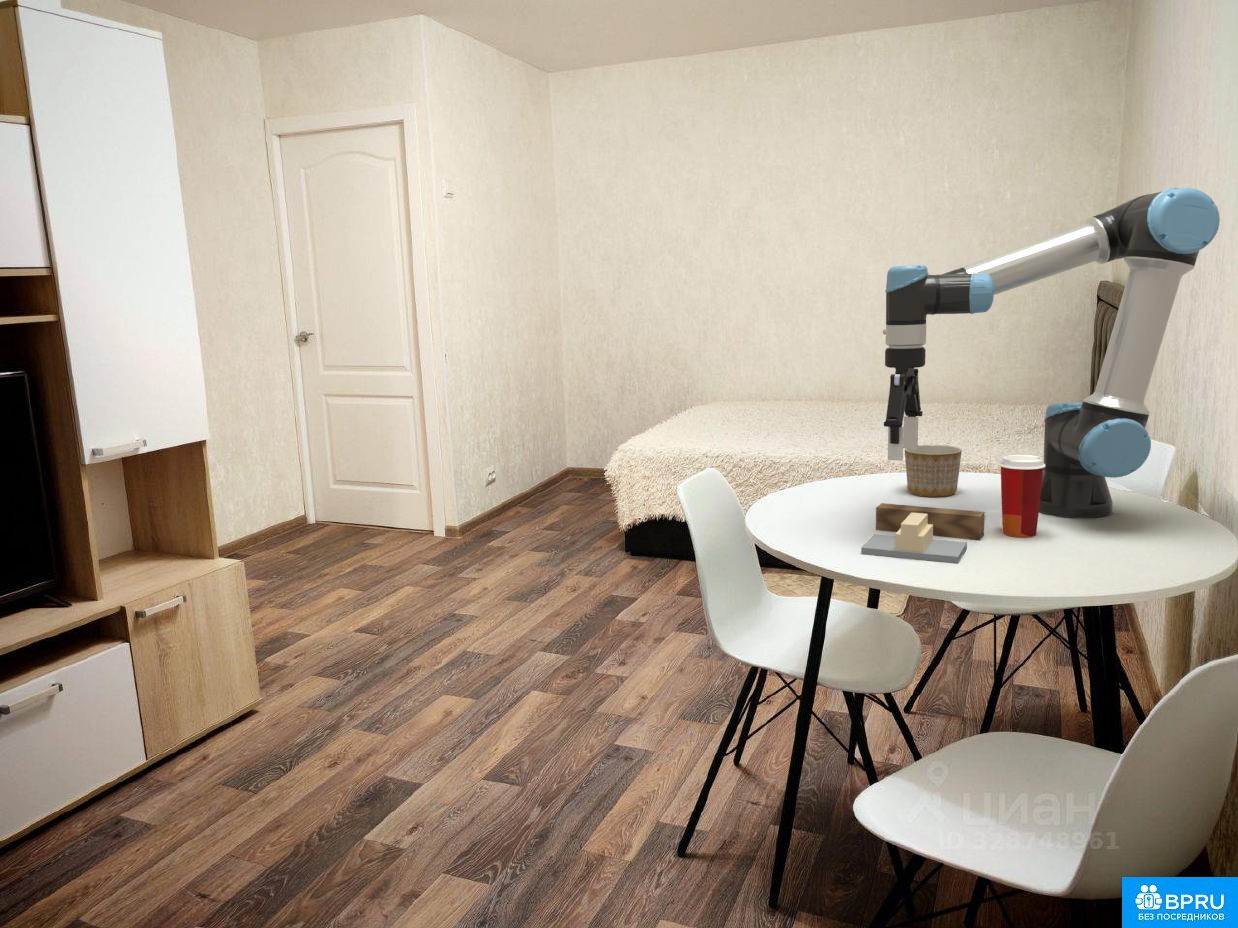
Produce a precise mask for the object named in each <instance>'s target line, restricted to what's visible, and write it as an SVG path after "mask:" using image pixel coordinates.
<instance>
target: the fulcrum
mask: <svg viewBox="0 0 1238 928" xmlns="http://www.w3.org/2000/svg"><path fill="white" fill-rule="evenodd" d="M967 549H968V542H967V541H955V540H946V539H944V540H943V539H936V538H934V536H933V524H928V514H924V513H910V515H909V516H908V517H907V518H906V519H905V520H904V521H903V522H902V523H901V528H900V529H899V530H898V531H897V532H895V533H894V535H892V534H891V535H888V534H879V533H878V534H877V533H874V534H873V535H872V536H871V537H870V538H869V539H868V540H867V541H866V542H865V543H864V544H863V545H862V546H861V549H860V550H861V551H860V554H862V555H870V556H871V555H872V556H880V557H882V556H883V557H891V558H899V559H901V558H902V559H911V560H922V561H930V562H931V561H932V562H940V563H950V564H952V563H953V564H959V562H960V561H961V559H962V558H963V555H965V552H966V551H967Z"/></svg>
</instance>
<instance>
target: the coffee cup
mask: <svg viewBox="0 0 1238 928" xmlns="http://www.w3.org/2000/svg"><path fill="white" fill-rule="evenodd" d="M999 461H1000V462H999V463H998V464H997V466H999V467H1000V482H1001V483H1000V492H1001V493H1000V494H1001V523H1002V524H1001V525H1002V533H1003V534H1004V535H1006V536H1009V537H1013V538H1032V537H1035V536H1036V535H1037V529H1038V523H1039V513H1040V512H1039V505H1040V496H1041V486H1042V477H1043V468H1044V467H1045V464H1044V459H1042V457H1041V456H1037V455H1029V454H1008V455H1003V456H1002V458H1001V459H1000V460H999Z"/></svg>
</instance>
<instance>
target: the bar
mask: <svg viewBox="0 0 1238 928" xmlns="http://www.w3.org/2000/svg"><path fill="white" fill-rule="evenodd" d="M910 513H924V514H928V524H933V537H941V538H951V539H961V540H970V541H981V539H983V537H984V536H985V517H986V516H985V515H986V514H985V513H986V512H985V511H979V510H967V509H965V510H964V509H956V508H955V509H953V508H943V507H942V508H941V507H932V506H931V507H930V506H922V505H921V506H919V505H907V504H897V503H896V504H895V503H884V502H882V503H880V504H879V505H877V506H876V507H875V530H876V531H882V532H893V533H897V531H898V530H899V529H900V528H901V523H902V522H903V521H904V520H905V519H906V518H907V517H908V516H909V515H910Z"/></svg>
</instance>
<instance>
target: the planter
mask: <svg viewBox="0 0 1238 928" xmlns="http://www.w3.org/2000/svg"><path fill="white" fill-rule="evenodd" d="M962 450H963V449H961V448H960V447H958V446H953V445H944V444H919V445H918V448H917V449H906V448H904V457H905V458H904V459H905V470H906V471H905V473H906V483H907V490H908V492H909V493H911V494H912V495H914V496H919V497H926V498H942V497H944V498H945V497H949V496H952V495H954V494H956V492H957V491H958V486H959V485H958V483H959V477H960V476H959V475H960V466H961V458H962V453H963V452H962Z"/></svg>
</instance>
